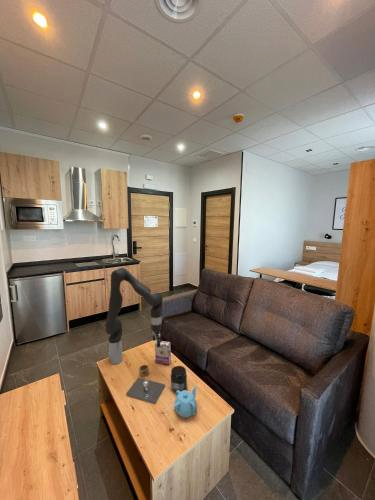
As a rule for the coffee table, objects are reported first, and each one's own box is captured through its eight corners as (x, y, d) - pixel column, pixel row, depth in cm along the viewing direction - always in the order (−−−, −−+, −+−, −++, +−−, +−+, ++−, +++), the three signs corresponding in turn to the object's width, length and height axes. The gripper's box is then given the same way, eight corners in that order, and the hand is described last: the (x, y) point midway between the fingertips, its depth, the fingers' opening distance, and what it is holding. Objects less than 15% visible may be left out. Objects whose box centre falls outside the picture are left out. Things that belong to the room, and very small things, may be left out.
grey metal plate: (126, 395, 131) (125, 386, 130) (138, 379, 144) (137, 370, 143) (155, 404, 124) (154, 394, 123) (165, 386, 137) (164, 377, 136)
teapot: (172, 420, 114) (172, 403, 112) (176, 397, 128) (176, 382, 126) (195, 422, 113) (195, 405, 111) (197, 399, 127) (197, 383, 125)
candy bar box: (171, 361, 161) (170, 341, 159) (168, 365, 156) (168, 345, 154) (158, 359, 165) (157, 339, 162) (155, 363, 160) (154, 343, 157)
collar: (137, 375, 147) (137, 370, 146) (142, 369, 153) (142, 364, 152) (145, 377, 145) (145, 371, 144) (150, 371, 151) (150, 365, 150)
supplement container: (183, 379, 143) (183, 363, 141) (189, 390, 133) (189, 373, 132) (168, 383, 139) (168, 367, 138) (173, 396, 130) (173, 378, 128)
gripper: (147, 318, 149) (148, 339, 152) (154, 327, 137) (154, 350, 139) (157, 316, 153) (158, 337, 155) (164, 325, 140) (165, 347, 143)
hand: (156, 343), depth 147 cm, fingers open, 8 cm apart
